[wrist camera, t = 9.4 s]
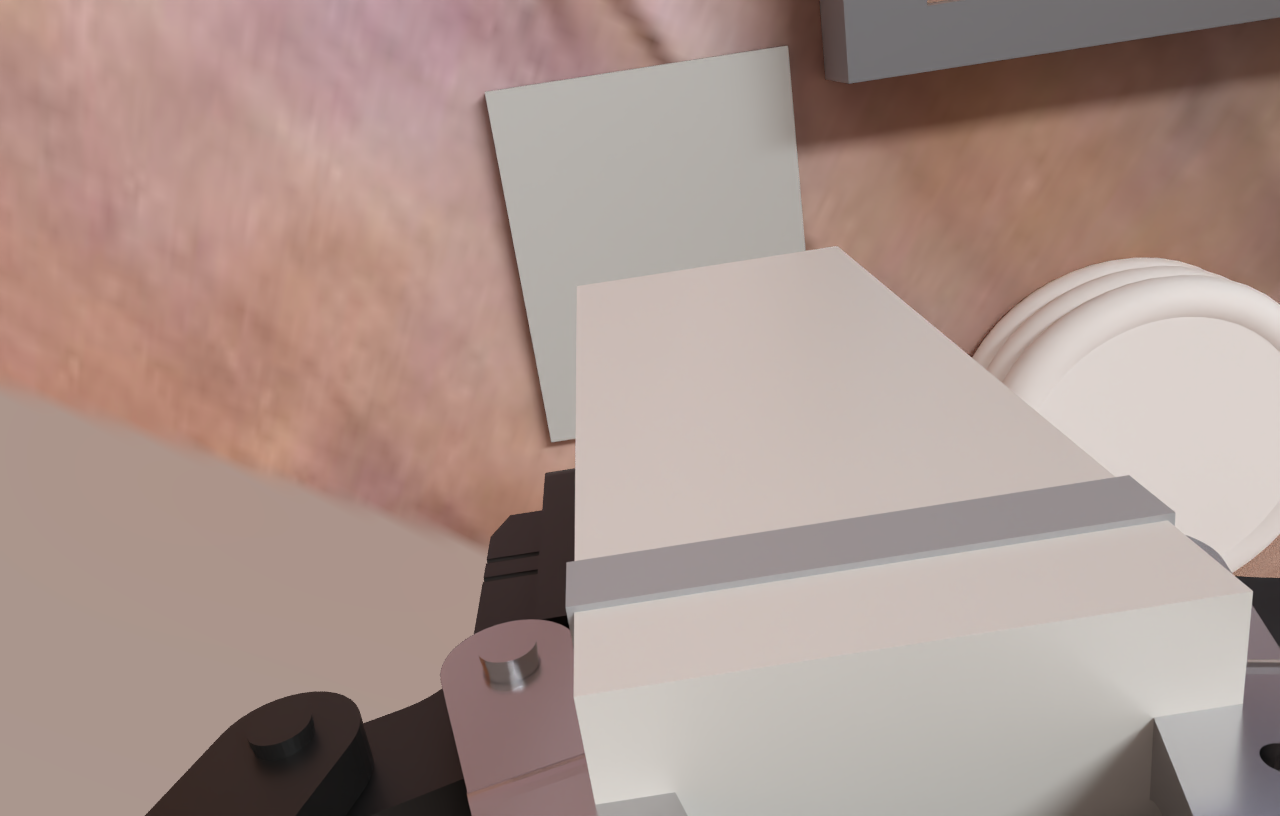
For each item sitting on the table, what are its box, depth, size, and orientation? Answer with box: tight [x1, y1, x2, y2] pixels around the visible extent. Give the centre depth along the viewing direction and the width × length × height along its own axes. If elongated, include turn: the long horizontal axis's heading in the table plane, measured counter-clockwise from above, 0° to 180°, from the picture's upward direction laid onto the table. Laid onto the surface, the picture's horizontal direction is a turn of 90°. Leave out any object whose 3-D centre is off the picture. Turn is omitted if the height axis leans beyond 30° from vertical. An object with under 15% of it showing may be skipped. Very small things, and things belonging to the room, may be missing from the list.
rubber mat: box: [485, 46, 805, 442], centre depth 28 cm, size 8×10×1 cm
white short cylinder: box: [972, 258, 1280, 573], centre depth 29 cm, size 10×10×4 cm
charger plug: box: [566, 246, 1253, 816], centre depth 11 cm, size 4×5×10 cm
